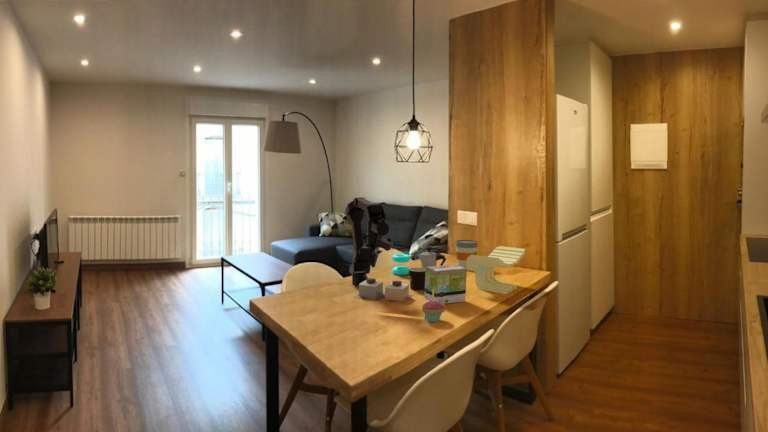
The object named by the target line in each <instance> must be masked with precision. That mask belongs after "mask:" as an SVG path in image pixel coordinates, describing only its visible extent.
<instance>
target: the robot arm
mask: <svg viewBox="0 0 768 432" xmlns="http://www.w3.org/2000/svg"><path fill="white" fill-rule="evenodd" d="M344 211H345V215H346V219H347V221H348V222H349V224H351V225H350V226H351V234H352V242H353V249H354V254H353V256H352V258H351V264H350V266H349V269H348V270H349V274H351V275H352V276H351V279H352V281H351V284H352V285H354V286H358V287H359V284H360V283H362V282H363V281H365V280H367V279H368V278H369V277H368V276H367V275H368V274H370V271H371V268H375V267H376V265H377V262H378V261H377V260H378V258H379V256H380V254H381V253H382V252H383V250H384V251H386V252H387V251H390V250H392V246H394V239H393V238H392V237H388V238H384V236H386V235H387V234H388V233H389V231H390V227H389V224H387V222H386V220H387V214H386V213H385V209H384V207H383V205H382V203H377V202H376V203H374V202H373V203H372V202H371V201H369V200H367V199H366V198H365V197H361V196H360V197H354V198H353V200H352V201H350V202H349V203H347V205H346V207H345V210H344ZM364 215H365V216H366V223H367V225H366V230H367V231H366V232H367V233H366V234H365V238H366V240H367V241H366V243H365V245H364V239H363V238H364V237H363V230H362V220H363V219H364ZM381 249H383V250H381Z"/></svg>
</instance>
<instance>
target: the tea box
mask: <svg viewBox="0 0 768 432" xmlns="http://www.w3.org/2000/svg"><path fill="white" fill-rule="evenodd" d="M467 272H468V270H467V269H466V268H463V267H460V266H458V264H457V265H456V264H455V263H454V264H446V265H444V264H443V265H442V266H440V265H436V266H431V267H426V272H425V289H424V297H423V298H424V299H425V300H427V301H432V290H434V301H437V302H440V303H441V304H443V305H445V304H455V303H463V302H464V301H466V294H467V292H466V291H467V275H468V274H467Z"/></svg>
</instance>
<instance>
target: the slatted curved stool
mask: <svg viewBox="0 0 768 432" xmlns="http://www.w3.org/2000/svg"><path fill="white" fill-rule="evenodd" d="M525 255H526V248H521V247H513V246H504V245H503V246H502V245H499V246H496V247H495V248H494V249H493V250H492V251H491V252H490V253H489V254H488V255H487V256H486V255H479V254H478V255H470V256H469V257H468V258H467V260H466V269H467V271H469V272H474V277H475V278H474V280H475V281H474V282H475V285H476V288H478V289H479V290H480V291H487V292H492V293H496V294H497V293H498V294H503V295H506V294H509V293H510V292H513V291H514V290H517V289H518V287H517V284H513V283H508V282H505V281H501V280H499V279H497V278H496V276H495V275H494V272H495V269H496V268H506V269H507V268H510V267H512V266H515V265H517V264H519V262H520V261H521V259H523V258H524V256H525Z"/></svg>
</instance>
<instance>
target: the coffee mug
mask: <svg viewBox="0 0 768 432" xmlns="http://www.w3.org/2000/svg"><path fill="white" fill-rule="evenodd" d="M408 268H409V274H408V278H409V286H410V287H409V289H410V290H411V291H425V272H426V269H425V268H423V267H417V266H416V267H408Z"/></svg>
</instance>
